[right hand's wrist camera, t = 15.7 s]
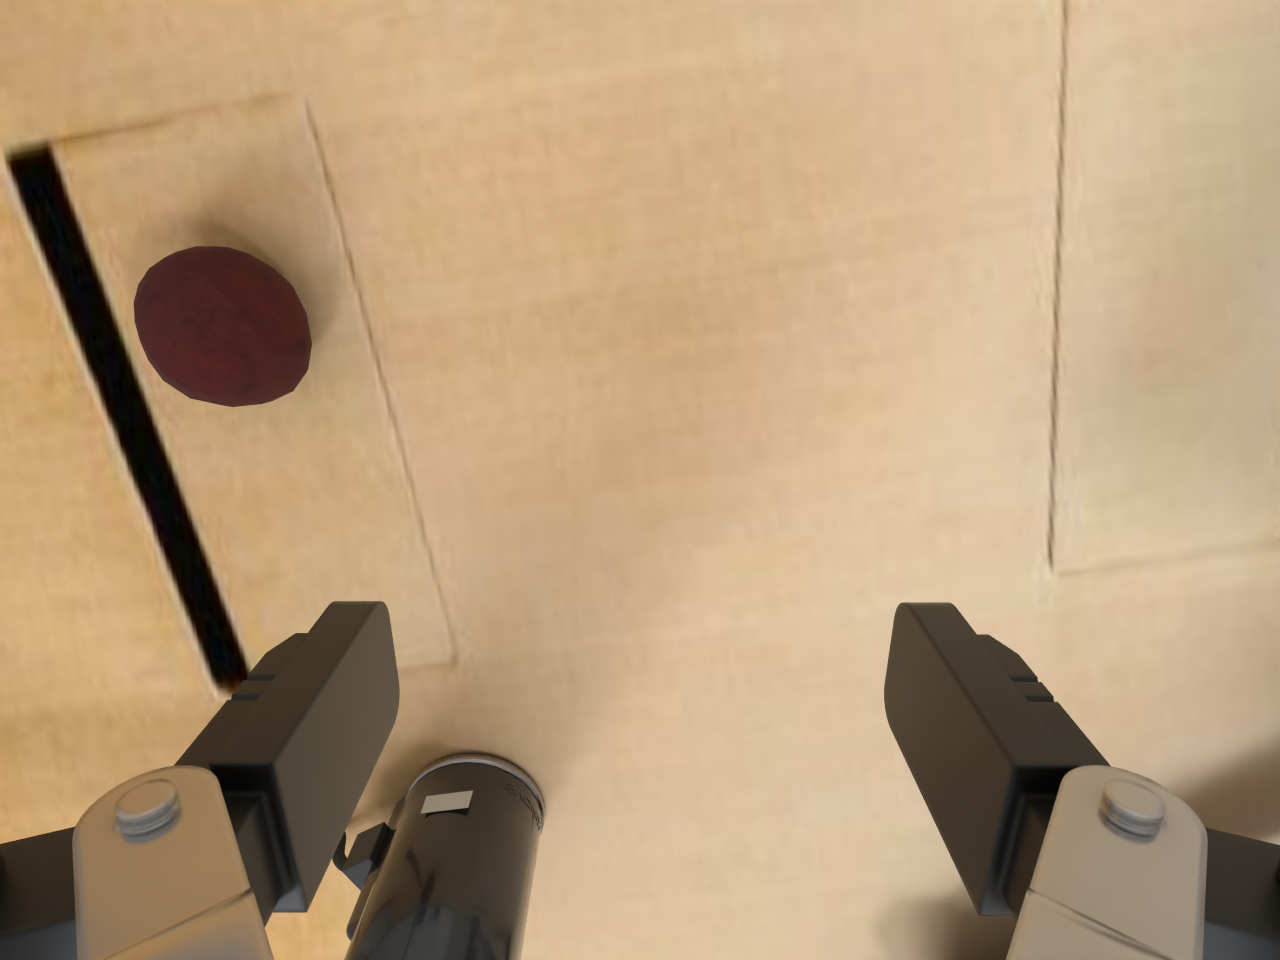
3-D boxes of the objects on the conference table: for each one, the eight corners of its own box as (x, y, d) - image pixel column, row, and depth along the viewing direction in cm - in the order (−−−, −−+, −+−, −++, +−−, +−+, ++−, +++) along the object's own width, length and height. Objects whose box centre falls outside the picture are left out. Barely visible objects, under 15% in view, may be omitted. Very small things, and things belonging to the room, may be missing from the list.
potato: (255, 210, 36) (170, 213, 30) (366, 337, 38) (309, 365, 32) (157, 301, 38) (56, 323, 31) (269, 417, 40) (196, 461, 33)
